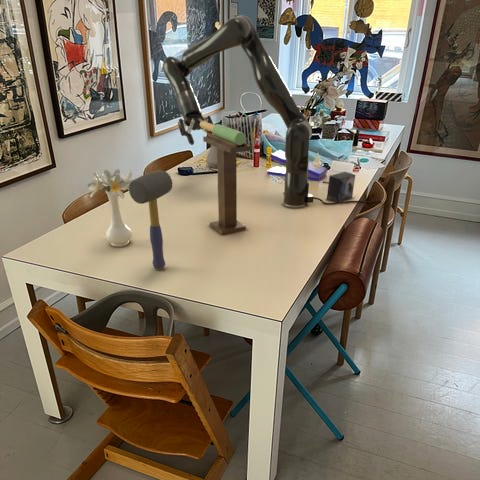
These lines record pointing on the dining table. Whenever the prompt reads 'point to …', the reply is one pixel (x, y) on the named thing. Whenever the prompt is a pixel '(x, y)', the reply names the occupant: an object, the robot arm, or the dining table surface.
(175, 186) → the dining table surface
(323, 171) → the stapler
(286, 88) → the robot arm
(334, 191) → the small box
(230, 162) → the stand
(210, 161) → the coffee pot
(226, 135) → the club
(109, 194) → the flower vase
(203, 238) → the dining table surface
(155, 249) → the rubber mallet
